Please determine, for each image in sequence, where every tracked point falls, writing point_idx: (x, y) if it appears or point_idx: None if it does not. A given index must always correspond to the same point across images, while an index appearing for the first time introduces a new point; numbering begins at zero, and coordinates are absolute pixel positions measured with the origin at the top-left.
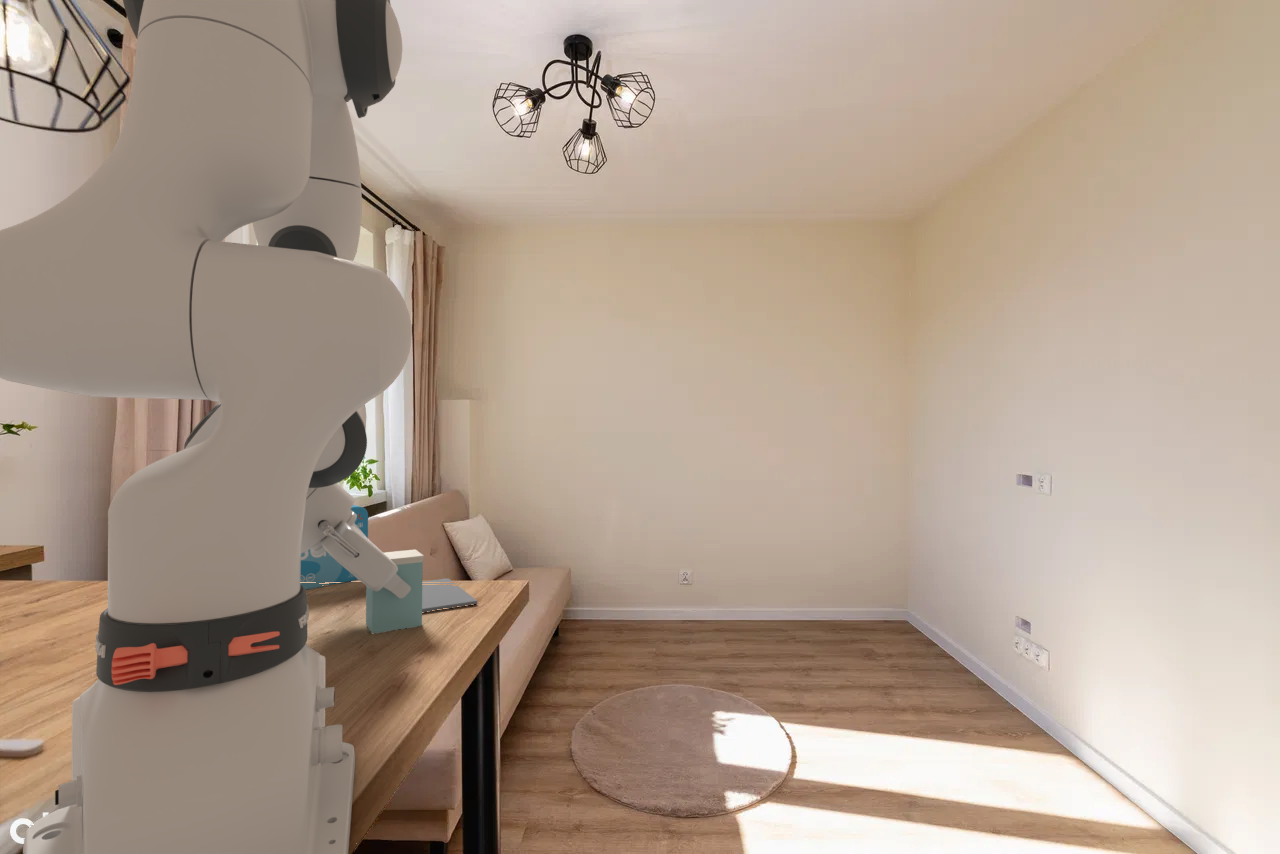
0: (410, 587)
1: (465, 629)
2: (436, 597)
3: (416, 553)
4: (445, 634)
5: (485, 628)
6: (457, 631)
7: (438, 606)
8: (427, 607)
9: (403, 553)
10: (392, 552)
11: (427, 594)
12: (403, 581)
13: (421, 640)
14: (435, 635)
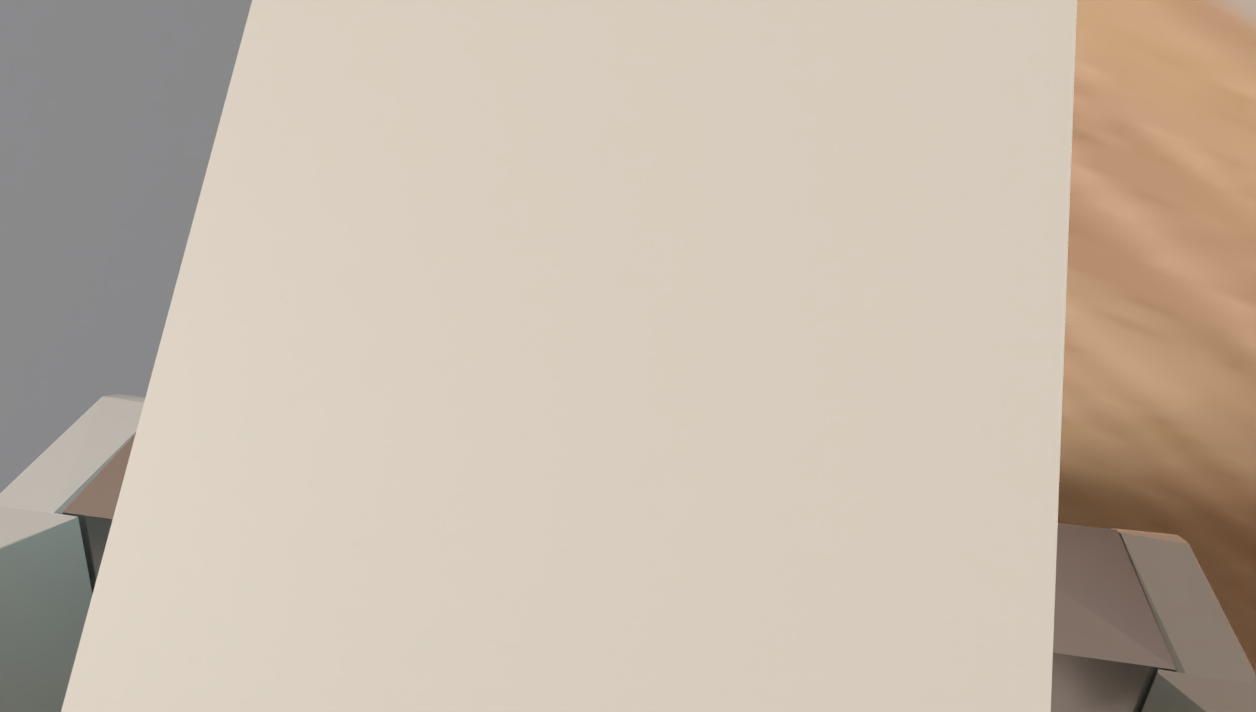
0: (1181, 539)
1: (1150, 147)
2: (177, 10)
3: (741, 44)
4: (1190, 341)
5: (1218, 6)
6: (1166, 223)
7: None
8: None
9: (532, 290)
10: (230, 483)
11: (13, 39)
12: (1242, 655)
13: (1241, 588)
14: (1168, 425)
